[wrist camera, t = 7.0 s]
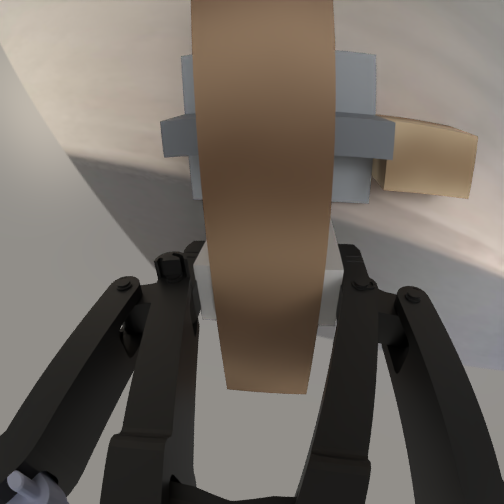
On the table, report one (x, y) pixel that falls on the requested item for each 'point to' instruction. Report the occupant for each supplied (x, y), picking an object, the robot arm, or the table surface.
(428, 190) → the block
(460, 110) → the table surface
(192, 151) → the fulcrum
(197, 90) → the walnut bar
